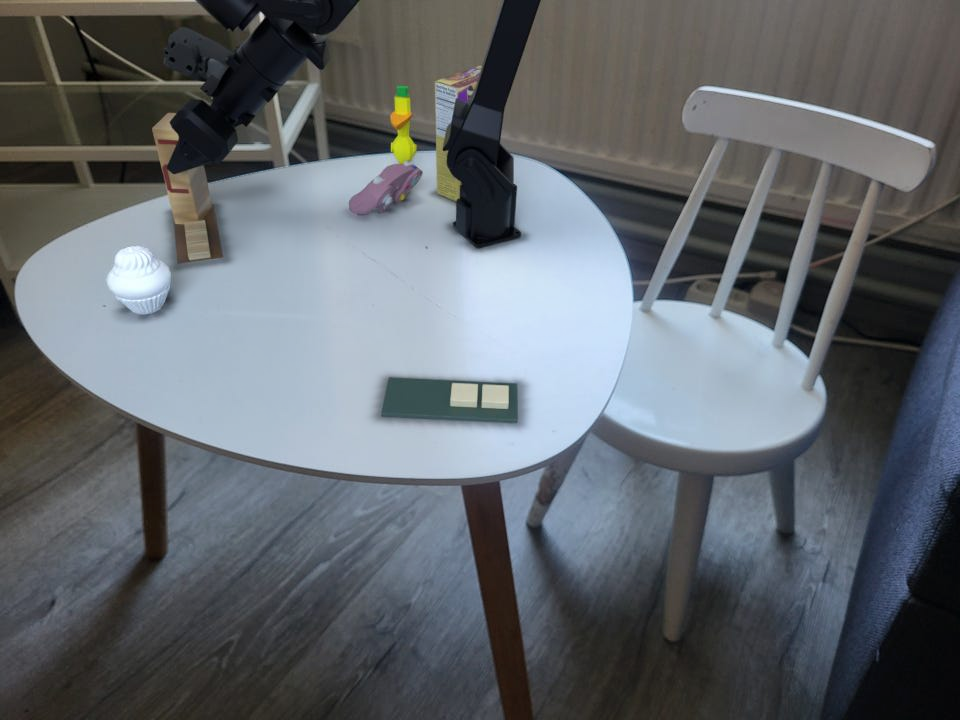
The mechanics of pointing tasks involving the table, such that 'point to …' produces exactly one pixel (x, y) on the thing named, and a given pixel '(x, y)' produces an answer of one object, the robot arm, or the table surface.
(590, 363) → the table surface
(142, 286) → the muffin
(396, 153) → the toy figure
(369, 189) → the pink toy car
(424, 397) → the dark green board
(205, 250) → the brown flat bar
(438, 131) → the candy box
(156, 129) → the wooden block
